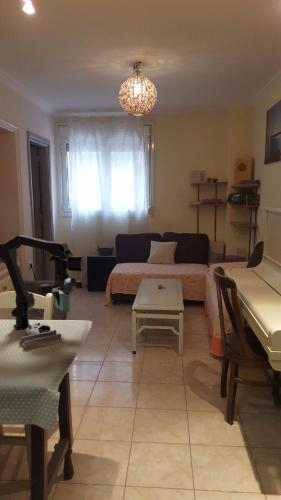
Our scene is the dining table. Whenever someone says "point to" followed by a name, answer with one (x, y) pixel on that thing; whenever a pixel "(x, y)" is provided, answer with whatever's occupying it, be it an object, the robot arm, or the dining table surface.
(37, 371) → the dining table surface
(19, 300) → the robot arm
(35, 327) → the gaming controller
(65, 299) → the door panel
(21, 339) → the track
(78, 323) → the dining table surface
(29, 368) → the dining table surface
